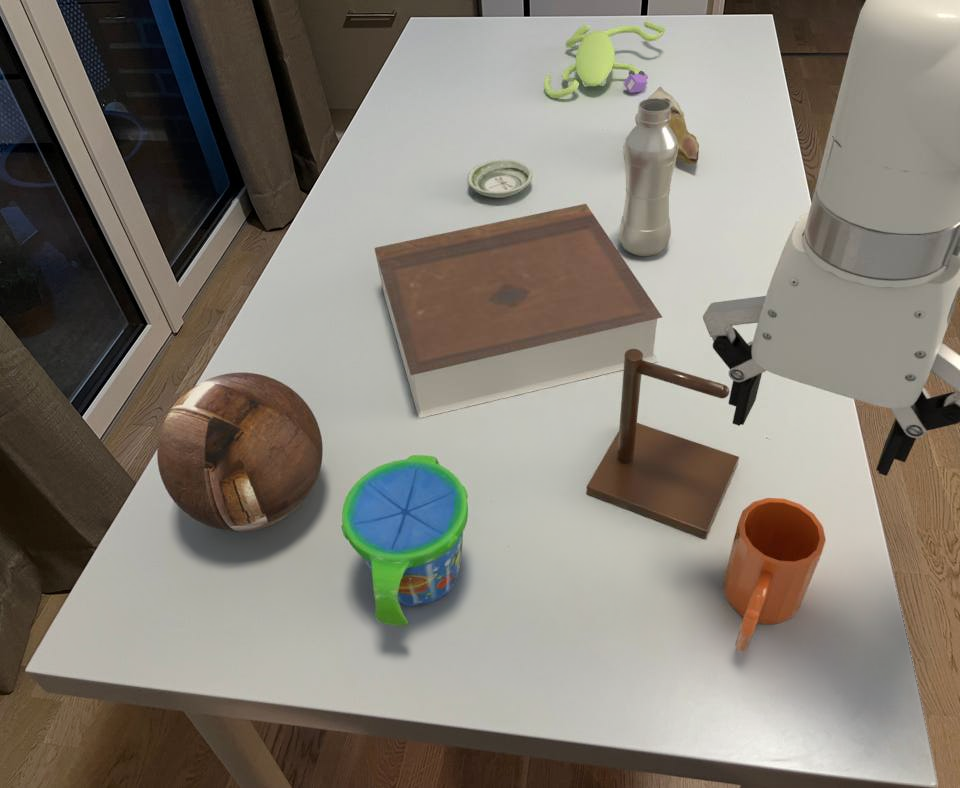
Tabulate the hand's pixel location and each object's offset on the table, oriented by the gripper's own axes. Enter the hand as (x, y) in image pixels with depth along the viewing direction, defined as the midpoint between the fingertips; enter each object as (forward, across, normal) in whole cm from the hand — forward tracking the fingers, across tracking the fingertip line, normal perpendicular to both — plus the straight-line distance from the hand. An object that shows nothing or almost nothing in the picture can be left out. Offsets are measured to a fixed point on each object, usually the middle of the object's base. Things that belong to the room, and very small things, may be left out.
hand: (812, 435), depth 55 cm
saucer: (+20, +54, -48) cm, 76 cm away
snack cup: (+20, +28, +13) cm, 37 cm away
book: (+20, +38, -22) cm, 48 cm away
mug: (+20, 0, +2) cm, 20 cm away
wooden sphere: (+20, +47, +14) cm, 53 cm away
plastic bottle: (+20, +29, -43) cm, 56 cm away
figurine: (+20, +58, -92) cm, 111 cm away
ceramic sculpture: (+20, +37, -68) cm, 80 cm away
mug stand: (+20, +12, -8) cm, 25 cm away
